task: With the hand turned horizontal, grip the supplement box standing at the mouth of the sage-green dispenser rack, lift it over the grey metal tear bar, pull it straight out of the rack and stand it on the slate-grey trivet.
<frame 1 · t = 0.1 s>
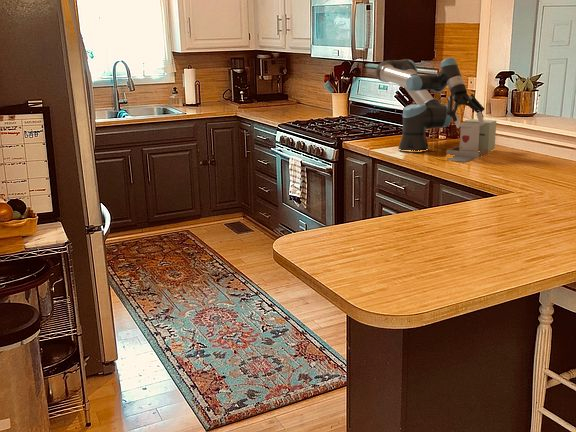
hand: (471, 125, 299), 15 cm above the counter, tool tilted 35°, fingers open, 13 cm apart
supplement box: (468, 154, 311), resting in dispenser rack
trivet: (456, 158, 301), on the counter
dispenser rack: (468, 153, 311), on the counter
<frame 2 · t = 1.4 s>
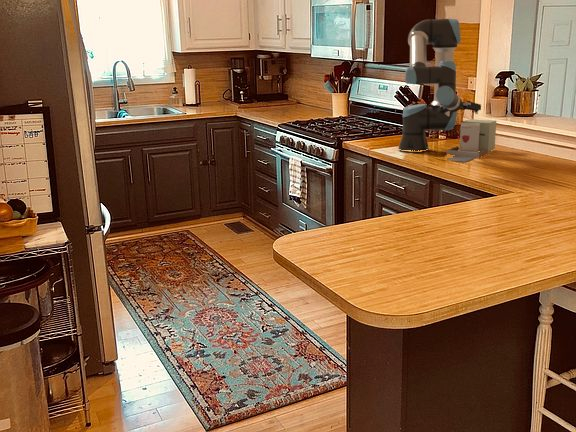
hand: (462, 112, 304), 21 cm above the counter, tool tilted 70°, fingers open, 13 cm apart
nothing on the counter moved.
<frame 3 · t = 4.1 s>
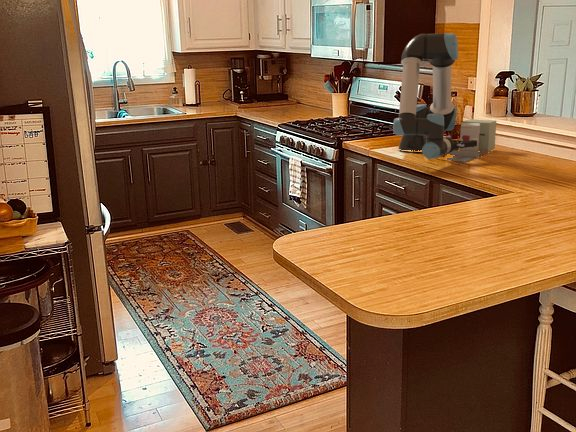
hand: (463, 139, 303), 8 cm above the counter, tool horizontal, fingers open, 13 cm apart
nothing on the counter moved.
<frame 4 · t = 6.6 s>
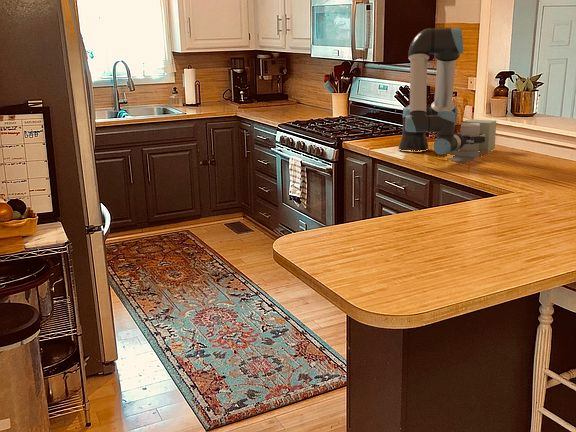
hand: (472, 135, 312), 9 cm above the counter, tool horizontal, fingers closed on supplement box, 11 cm apart
supplement box: (468, 154, 311), resting in dispenser rack, touching gripper
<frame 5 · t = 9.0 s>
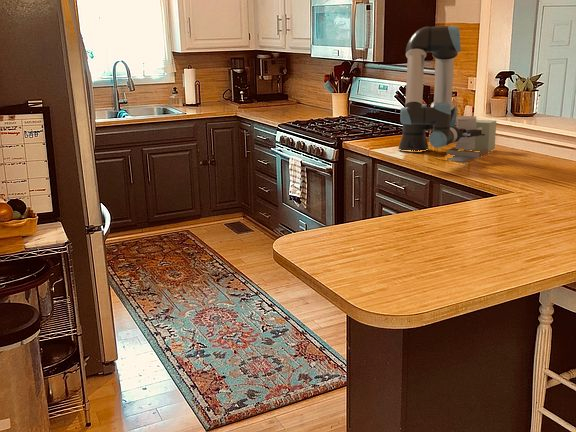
hand: (469, 129, 306), 13 cm above the counter, tool horizontal, fingers closed on supplement box, 11 cm apart
supplement box: (465, 148, 306), point 4 cm above the counter, touching gripper
when the fingers open (10 cm above the counter, at t = 11.5 s): supplement box moves 1 cm, resting on trivet.
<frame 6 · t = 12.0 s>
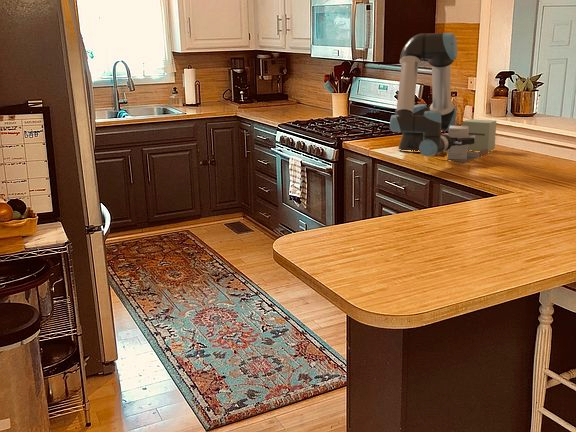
hand: (460, 137, 301), 10 cm above the counter, tool horizontal, fingers open, 13 cm apart
supplement box: (457, 158, 301), resting on trivet
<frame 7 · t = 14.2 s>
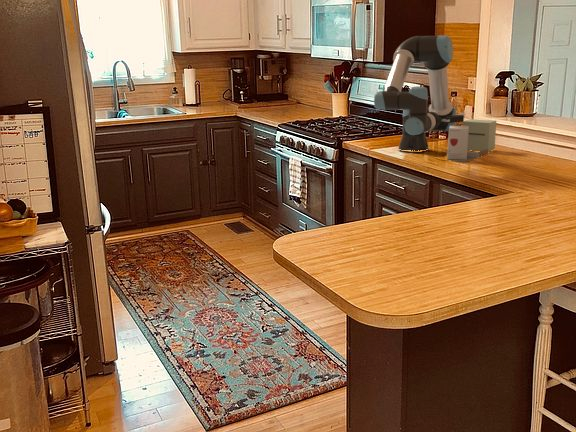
hand: (449, 114, 286), 22 cm above the counter, tool horizontal, fingers open, 13 cm apart
nothing on the counter moved.
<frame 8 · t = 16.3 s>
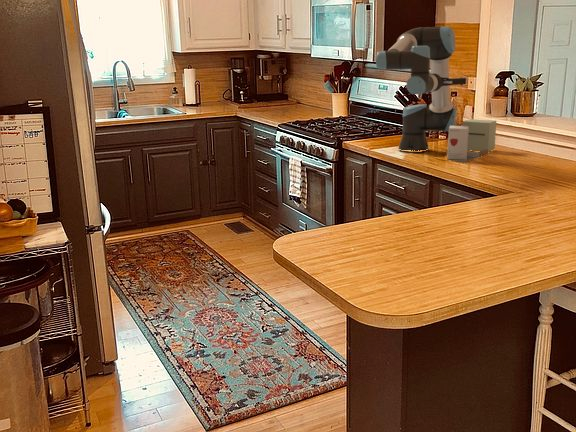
hand: (451, 79, 283), 38 cm above the counter, tool horizontal, fingers open, 13 cm apart
nothing on the counter moved.
at the end: supplement box 0.2 cm from the trivet (horizontally); supplement box tilted 0°; the gripper is holding nothing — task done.
